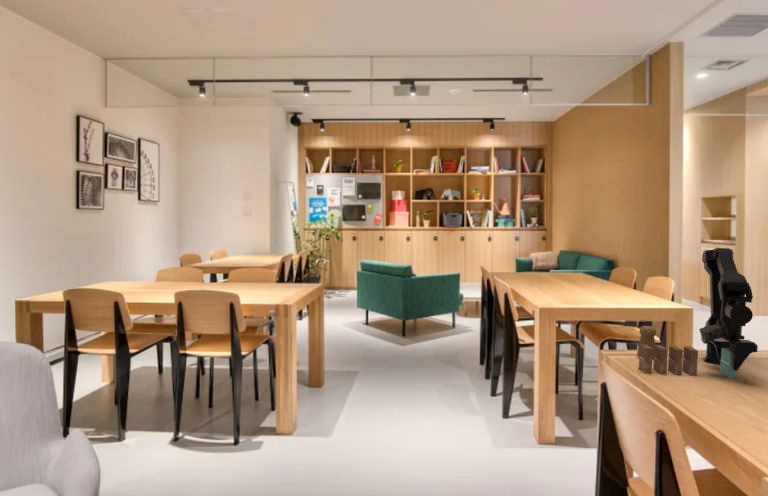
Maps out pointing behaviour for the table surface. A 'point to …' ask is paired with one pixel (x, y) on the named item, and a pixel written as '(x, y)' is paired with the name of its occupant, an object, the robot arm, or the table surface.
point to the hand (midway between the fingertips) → (728, 366)
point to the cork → (647, 338)
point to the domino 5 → (727, 363)
